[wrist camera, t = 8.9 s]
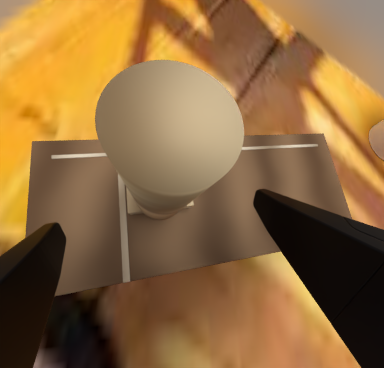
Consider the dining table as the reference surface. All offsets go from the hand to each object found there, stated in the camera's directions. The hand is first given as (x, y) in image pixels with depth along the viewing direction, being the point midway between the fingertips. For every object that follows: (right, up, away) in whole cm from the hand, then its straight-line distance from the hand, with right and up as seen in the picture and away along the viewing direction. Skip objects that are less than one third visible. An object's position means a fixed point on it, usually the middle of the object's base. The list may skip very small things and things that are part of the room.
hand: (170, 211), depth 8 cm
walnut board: (+3, 0, +10) cm, 11 cm away
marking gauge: (-3, +3, +10) cm, 10 cm away
